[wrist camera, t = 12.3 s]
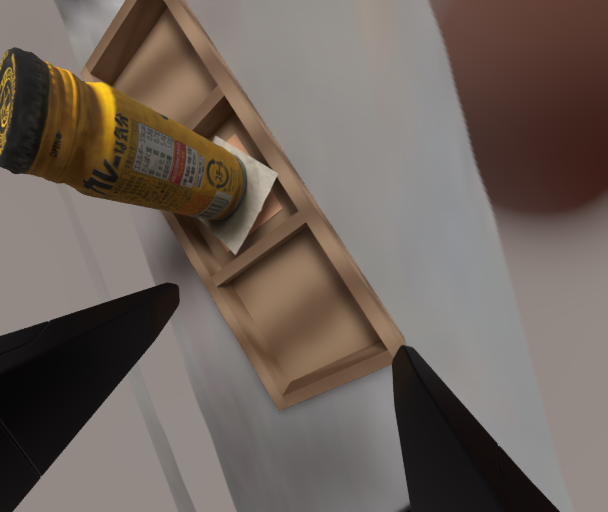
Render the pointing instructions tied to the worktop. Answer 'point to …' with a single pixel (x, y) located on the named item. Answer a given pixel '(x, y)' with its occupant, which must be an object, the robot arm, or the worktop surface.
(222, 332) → the worktop surface
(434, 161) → the worktop surface
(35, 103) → the condiment
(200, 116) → the tray
